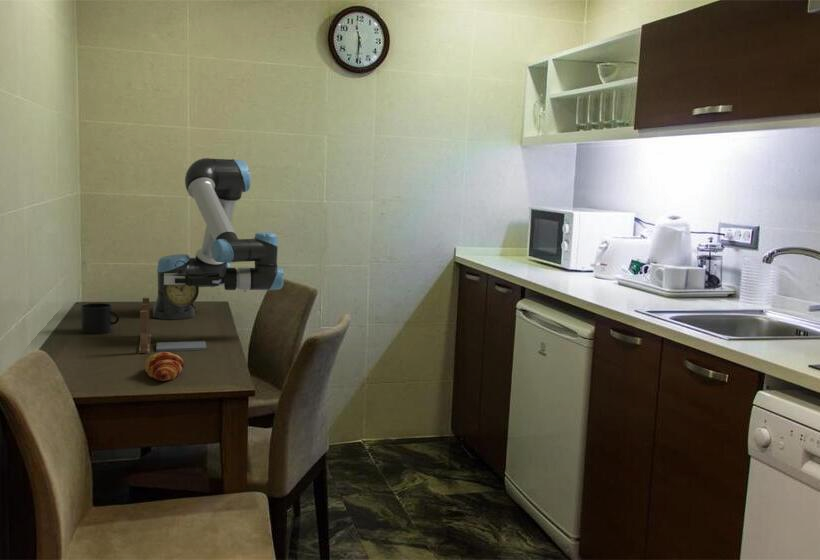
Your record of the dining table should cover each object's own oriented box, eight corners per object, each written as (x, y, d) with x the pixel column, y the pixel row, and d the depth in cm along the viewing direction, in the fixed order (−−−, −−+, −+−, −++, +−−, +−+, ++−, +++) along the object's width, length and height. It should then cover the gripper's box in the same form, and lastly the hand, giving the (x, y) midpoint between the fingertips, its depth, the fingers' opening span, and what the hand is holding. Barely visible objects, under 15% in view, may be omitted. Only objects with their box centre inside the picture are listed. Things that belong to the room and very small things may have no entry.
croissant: (153, 377, 217) (139, 353, 215) (185, 359, 219) (172, 336, 217) (154, 396, 197) (138, 370, 195) (189, 377, 199) (174, 351, 197)
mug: (117, 334, 254) (116, 307, 253) (79, 334, 252) (78, 307, 251) (121, 328, 264) (121, 303, 262) (84, 328, 261) (84, 303, 260)
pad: (156, 345, 241) (156, 342, 241) (205, 343, 246) (205, 341, 246) (156, 351, 233) (156, 348, 233) (206, 349, 237) (206, 347, 237)
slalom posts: (141, 335, 253) (141, 297, 252) (151, 335, 254) (150, 297, 252) (138, 353, 229) (138, 311, 227) (149, 353, 230) (148, 311, 228)
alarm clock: (164, 311, 244) (164, 261, 242) (162, 308, 249) (162, 259, 247) (198, 310, 249) (199, 261, 247) (196, 307, 254) (196, 259, 252)
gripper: (238, 294, 245) (163, 295, 238) (234, 285, 262) (164, 285, 255) (239, 271, 244) (163, 271, 237) (234, 264, 261) (164, 263, 254)
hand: (164, 278), depth 246 cm, fingers closed on alarm clock, 5 cm apart
